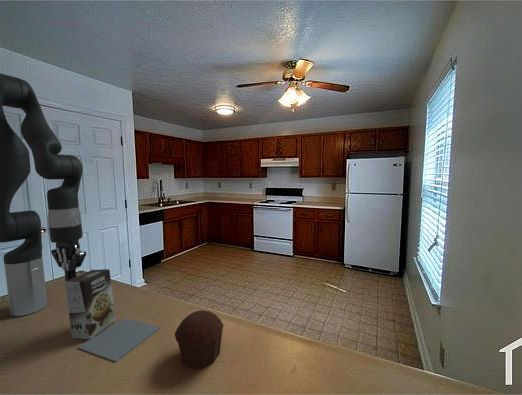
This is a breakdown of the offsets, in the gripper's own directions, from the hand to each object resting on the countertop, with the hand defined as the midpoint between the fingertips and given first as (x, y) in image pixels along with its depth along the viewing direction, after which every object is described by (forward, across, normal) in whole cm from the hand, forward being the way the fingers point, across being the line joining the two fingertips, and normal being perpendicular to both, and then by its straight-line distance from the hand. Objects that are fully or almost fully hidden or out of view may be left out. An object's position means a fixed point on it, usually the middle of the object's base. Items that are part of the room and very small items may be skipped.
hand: (71, 281), depth 74 cm
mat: (+13, +19, 0) cm, 23 cm away
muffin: (+14, +44, +2) cm, 46 cm away
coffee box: (+13, +9, 0) cm, 16 cm away
